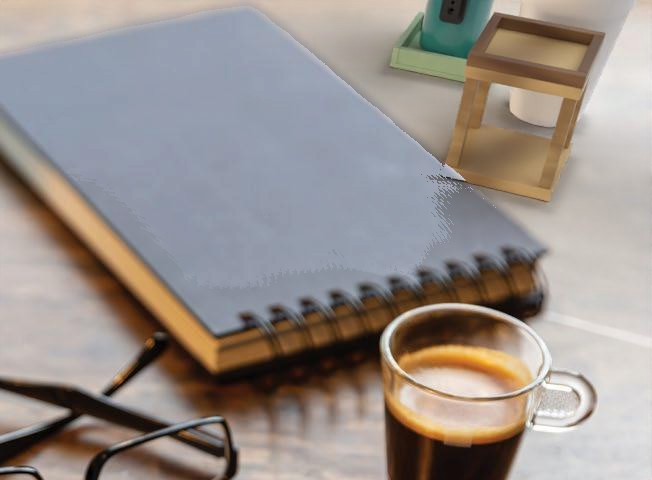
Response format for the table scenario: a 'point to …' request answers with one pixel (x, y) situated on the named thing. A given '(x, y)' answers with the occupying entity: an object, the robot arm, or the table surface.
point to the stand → (531, 74)
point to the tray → (424, 56)
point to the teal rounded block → (454, 28)
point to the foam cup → (577, 11)
